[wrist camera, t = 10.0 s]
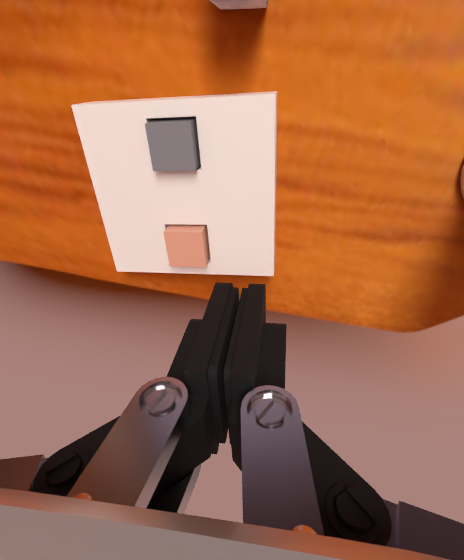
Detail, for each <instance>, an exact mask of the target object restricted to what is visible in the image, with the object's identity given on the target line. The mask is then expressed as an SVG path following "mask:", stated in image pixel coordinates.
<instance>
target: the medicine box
mask: <svg viewBox="0 0 464 560" xmlns="http://www.w3.org/2000/svg"><path fill="white" fill-rule="evenodd" d="M209 1H211V2H212V3H213V4H214V5H216V6H217V7H218V8H219V9H221V10H225V9H253V8H266V7H267V0H209Z"/></svg>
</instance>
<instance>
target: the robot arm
mask: <svg viewBox="0 0 464 560" xmlns="http://www.w3.org/2000/svg"><path fill="white" fill-rule="evenodd" d="M460 185H461V193H462V196H463V199H464V164H463V167H462V171H461V178H460ZM285 357H286V324H275V323H266V290H265V284H249V286H248V288H242V292H241V297H240V301H239V289H238V288H234V287H233V284H232V283H216V284H215V286H214V289H213V292H212V294H211V297H210V300H209V303H208V306H207V308H206V311H205V314H204V317H203V319H202V320H200V319H199V320H198V319H191V320H190V322H189V324H188V326H187V329H186V331H185V333H184V336H183V338H182V341H181V343H180V345H179V348H178V350H177V353H176V355H175V358H174V360H173V363H172V365H171V368H170V370H169V372H168V375H167V377H161V378H156V379H153V380H151V381H148V382H147V383H146V384H144V385H143V386H141V388H140V389H139V390H138V391H137V392H136V393H135V395H134V396H133V398H132V399H131V401H130V402H129V404H128V406H127V407H126V408H125V410H124V411H123V413H122V414H121V416H119V417H117V418H115V419H114V420H112V421H110V422H108V423H106V424H105V425H103V426H101V427H99V428H98V429H96V430H94V431H92V432H90V433H89V434H87V435H86V436H84V437H82V438H80V439H78V440H76V441H75V442H73V443H71V444H69V445H67V446H66V447H64V448H62V449H60V450H59V451H57V452H56V453H54V454H53V455H52V456H50V457H49V458H45V457H44V455H34V456H26V457H17V458H9V459H0V560H464V524H463V523H460V522H458V521H455V520H452V519H449V518H446V517H443V516H441V515H438V514H435V513H432V512H430V511H427V510H424V509H421V508H419V507H416V506H413V505H410V504H407V503H405V502H402V501H399V503H398V504H395V503H392V502H390V501H387V500H384V499H382V498H381V497H380V496H379V494H377V492H376V491H375V490H374V489H373V488H372V487H371V486H370V485H369V484H368V483H367V482H366V481H365V480H364V479H363V478H361V477H360V476H359V475H358V474H357V473H356V472H355V471H354V470H353V469H352V468H351V467H350V466H349V465H347V464H346V462H345V461H343V460H342V459H341V458H340V457H339V456H338V455H337V454H336V453H335V452H334V451H333V450H332V449H331V448H330V447H329V446H327V445H326V444H325V443H324V442H323V441H322V440H321V439H320V438H319V437H318V436H317V435H316V434H315V433H314V432H313V431H311V429H310V428H308V427H307V426H306V425H305V424H304V423H303V422H302V420H301V415H300V410H299V406H298V404H297V401H296V399H295V398H294V397H293V396H292V395H291V393H289V392H288V391H286V390H285ZM228 428H229V438H230V444H231V448H232V458H233V461H234V462H235V463H236V465H237V466H238V467H239V469H240V470H241V471H242V500H243V523H238V522H232V521H226V520H219V519H212V518H206V517H199V516H192V515H186V514H184V511H185V509H186V507H187V504H188V501H189V499H190V496H191V494H192V491H193V488H194V486H195V483H196V481H197V478H198V475H199V472H200V468H201V463H203V462H204V461H206V460H207V459H208V458H210V456H211V454H217V452H218V447H219V443H225V442H226V438H227V432H228Z"/></svg>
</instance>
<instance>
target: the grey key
mask: <svg viewBox="0 0 464 560" xmlns="http://www.w3.org/2000/svg"><path fill="white" fill-rule="evenodd" d="M145 129H146V135H147V140H148V146H149V151H150V157H151V163H152V168H153V171H187V170H196V169H197V168H198V167H199V166H200V165H201V161H200V151H199V141H198V132H197V122H196V118H179V119H157V120H153V121H150V122H147V123H145Z"/></svg>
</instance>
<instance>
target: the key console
mask: <svg viewBox="0 0 464 560" xmlns="http://www.w3.org/2000/svg"><path fill="white" fill-rule="evenodd" d="M71 106H72V110H73V114H74V117H75V121H76V124H77V128H78V132H79V135H80V139H81V142H82V146H83V150H84V153H85V157H86V161H87V164H88V168H89V171H90V175H91V179H92V182H93V186H94V190H95V193H96V197H97V200H98V204H99V208H100V211H101V215H102V219H103V222H104V226H105V229H106V233H107V237H108V240H109V244H110V248H111V251H112V255H113V258H114V262H115V266H116V269H117V271H121V272H154V273H186V274H219V275H251V276H274V268H275V240H276V165H277V91H272V92H255V93H237V94H219V95H202V96H184V97H167V98H149V99H131V100H114V101H96V102H87V103H81V104H75V105H71ZM179 118H196V122H197V132H198V141H199V151H200V161H201V165H200V166H199V167H198V168H197V169H196V170H187V171H153V168H152V163H151V157H150V151H149V146H148V140H147V135H146V129H145V123H147V122H150V121H153V120H157V119H179ZM169 224H185V225H207V229H208V239H209V249H210V259H209V261H208V263H207V266H206V267H176V266H169V261H168V255H167V249H166V244H165V238H164V233H163V232H164V231H165V229H166V228H167V227H168V226H169Z"/></svg>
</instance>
